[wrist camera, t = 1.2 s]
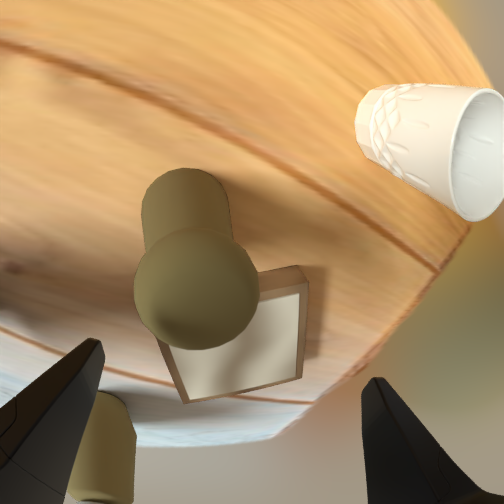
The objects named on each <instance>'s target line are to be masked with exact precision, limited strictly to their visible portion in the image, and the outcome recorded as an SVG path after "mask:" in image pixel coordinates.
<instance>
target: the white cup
mask: <svg viewBox="0 0 504 504" xmlns="http://www.w3.org/2000/svg"><path fill="white" fill-rule="evenodd" d="M354 125H355V132H356V140H357V143H358V145H359V146H360V148H361V150H362V151H363V153H364V155H365V157H366V158H368V159H369V160H371V161H372V162H374V163H375V164H377V165H378V166H380V167H382V168H384V169H386V170H388V171H389V172H390V173H391V174H393V175H394V176H396V177H398V178H400V179H401V180H403V181H404V182H406V183H408V184H409V185H411V186H412V187H414V188H416V189H418V190H419V191H421V192H423V193H424V194H426V195H428V196H429V197H431V198H433V199H434V200H436V201H438V202H439V203H441V204H442V205H444V206H445V207H447V208H449V209H450V210H452V211H453V212H455V213H456V214H458V215H459V216H461V217H462V218H463V219H465V220H467V221H470V222H477V221H481V220H483V219H485V218H487V217H488V216H490V215H491V214H492V213H493V212H494V211H495V210H496V209H497V208H498V206H499V205H500V203H501V202H502V200H503V199H504V98H503V97H502V95H501V94H500V93H498V92H497V91H495V90H493V89H489V88H481V87H472V86H462V85H450V84H433V83H425V84H419V83H410V84H402V85H393V84H386V85H382V86H379V87H377V88H374V89H371V90H369V92H368V93H367V94H366V95H365V97H364V98H363V99H362V100H361V102H360V103H359V105H358V109H357V113H356V117H355V121H354Z"/></svg>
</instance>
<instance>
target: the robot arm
mask: <svg viewBox="0 0 504 504" xmlns="http://www.w3.org/2000/svg"><path fill="white" fill-rule="evenodd" d="M104 363H105V354H104V350H103V347H102V343H101V341H100V340H97V339H94V338H88V339H86V340H85V341H84V342H82V343H81V344H80V345H78V346H77V347H76V348H75V349H73V350H72V351H71V352H69V353H68V354H67V355H66V356H64V357H63V358H62V359H61V360H59V361H58V362H57V363H56V364H54V365H53V366H52V367H51V368H49V369H48V370H47V371H46V372H44V373H43V374H42V375H41V376H39V377H38V378H37V379H36V380H34V381H33V382H32V383H31V384H29V385H28V386H27V387H26V388H25V389H23V390H22V391H21V392H20V393H18V394H17V395H16V397H13V398H12V399H11V400H10V401H9V402H7V403H6V404H5V405H4V406H2V407H1V408H0V504H63V502H64V498H65V494H66V490H67V487H68V483H69V479H70V476H71V472H72V469H73V465H74V462H75V459H76V455H77V452H78V449H79V446H80V443H81V440H82V437H83V434H84V431H85V428H86V425H87V422H88V419H89V416H90V413H91V410H92V408H93V405H94V402H95V398H96V395H97V390H98V386H99V382H100V378H101V374H102V370H103V367H104ZM361 408H362V439H363V449H364V459H365V470H366V481H367V495H368V504H504V496H501V495H497V494H492V493H489V492H486V491H484V490H482V489H481V488H480V487H478V486H477V485H476V484H475V483H474V482H473V481H472V480H471V479H470V478H469V477H468V476H467V475H466V474H465V473H464V472H463V471H462V470H461V469H460V468H459V467H458V466H457V464H456V463H454V461H453V460H452V459H451V458H450V457H449V456H448V454H447V453H446V452H445V451H444V449H443V448H442V447H440V445H439V443H438V442H437V441H436V440H435V438H434V437H433V436H432V435H431V434H430V433H429V431H428V430H427V429H426V428H425V426H424V425H423V424H422V423H421V421H420V420H419V419H418V418H417V417H416V415H414V413H413V412H412V411H411V410H410V408H409V407H408V406H407V405H406V403H405V402H404V401H403V400H402V399H401V398H400V396H399V395H398V394H397V393H396V391H395V390H394V389H393V388H392V387H391V386H390V384H389V383H388V382H387V381H386V380H385V379H384V378H383V377H373V378H371V380H370V381H369V382H368V384H367V385H366V386H365V388H364V389H363V391H362V394H361Z"/></svg>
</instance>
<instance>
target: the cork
mask: <svg viewBox="0 0 504 504" xmlns="http://www.w3.org/2000/svg"><path fill="white" fill-rule="evenodd" d="M141 217H142V226H143V234H144V242H145V249H146V254H145V255H144V256H143V258H142V259H141V261H140V264H139V267H138V269H137V272H136V275H135V279H134V302H135V305H136V309H137V311H138V313H139V316H140V318H141V320H142V322H143V324H144V325H145V326H146V327H147V328H148V329H149V330H150V331H151V332H152V333H153V334H154V335H155V336H156V337H157V338H158V339H159V340H161V341H163V342H165V343H166V344H168V345H170V346H172V347H176V348H180V349H184V350H206V349H211V348H215V347H219V346H221V345H223V344H225V343H227V342H230V341H232V340H233V339H235V338H236V337H237V336H238V335H239V334H241V333H242V332H243V331H244V330H245V329H246V327H247V326H248V324H249V323H250V321H251V320H252V318H253V316H254V314H255V313H256V310H257V306H258V302H259V298H260V288H259V280H258V273H257V270H256V269H255V267H254V265H253V263H252V261H251V259H250V258H249V256H248V254H247V252H246V250H244V249H243V248H242V247H241V246H240V245H238V244H237V243H236V242H235V241H234V240H233V234H232V227H231V219H230V212H229V205H228V199H227V195H226V193H225V191H224V189H223V187H222V186H221V184H220V183H219V182H218V181H217V180H216V179H215V178H214V177H212V176H211V175H210V174H207V173H205V172H203V171H201V170H198V169H190V168H181V169H176V170H172V171H168V172H167V173H165V174H163V175H162V176H160V177H158V178H157V179H156V180H155V181H154V182H153V183H152V184H151V186H150V187H149V188H148V189H147V191H146V194H145V196H144V198H143V201H142V212H141Z"/></svg>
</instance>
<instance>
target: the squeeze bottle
mask: <svg viewBox="0 0 504 504" xmlns="http://www.w3.org/2000/svg"><path fill="white" fill-rule="evenodd" d="M136 439H137V435H136V432H135V430H134V427H133V425H132V422H131V419H130V417H129V414H128V411H127V409H126V406H125V404H124V403H123V402H122V401H121V400H120V399H119V398H116V397H114V396H112V395H110V394H107V393H103V392H97V395H96V398H95V402H94V405H93V408H92V410H91V413H90V416H89V419H88V422H87V425H86V428H85V431H84V434H83V437H82V440H81V443H80V446H79V449H78V452H77V455H76V459H75V462H74V465H73V469H72V472H71V476H70V479H69V483H68V487H67V492H68V493H69V494H70V495H71V496H72V497H73V498H74V499H75V500H77V501H79V502H77V504H132V503H133V501H134V498H133V497H134V470H135V453H136Z"/></svg>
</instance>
